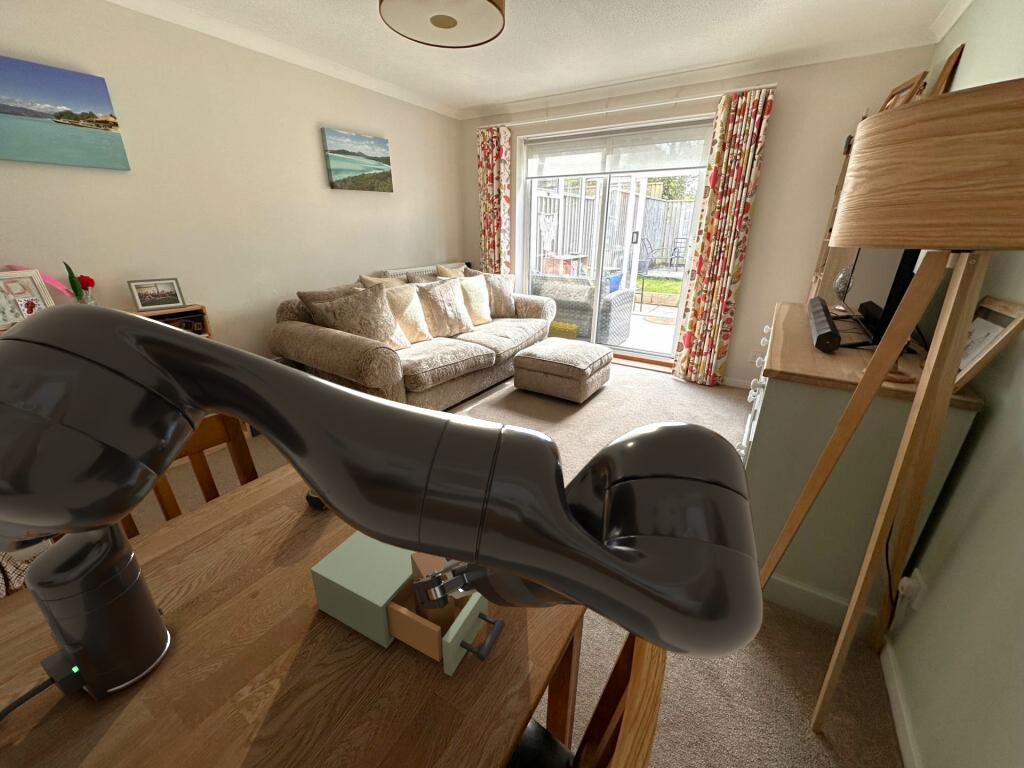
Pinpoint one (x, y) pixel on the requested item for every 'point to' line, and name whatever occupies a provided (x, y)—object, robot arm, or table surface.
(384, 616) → the cabinet
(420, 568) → the tall cardboard box
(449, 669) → the drawer
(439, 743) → the table surface
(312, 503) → the tape measure
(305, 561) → the table surface
